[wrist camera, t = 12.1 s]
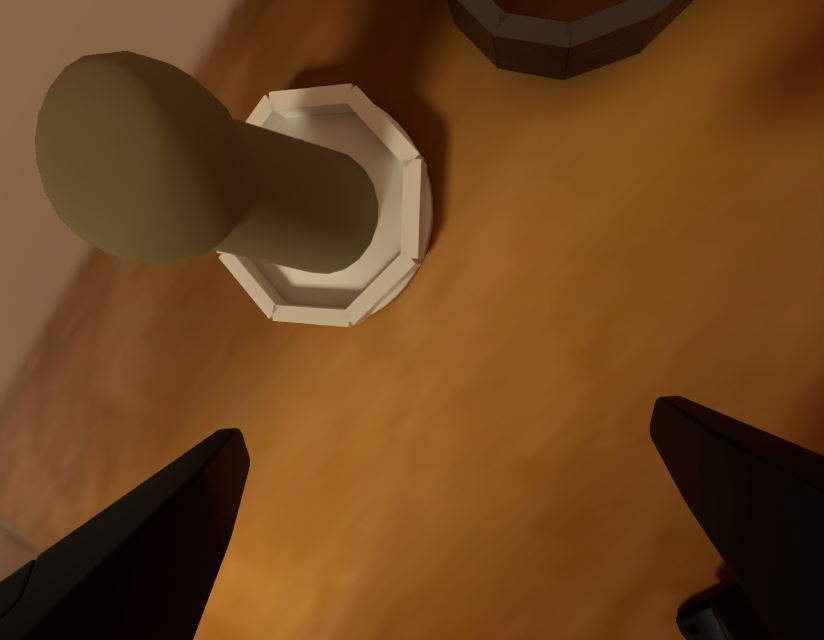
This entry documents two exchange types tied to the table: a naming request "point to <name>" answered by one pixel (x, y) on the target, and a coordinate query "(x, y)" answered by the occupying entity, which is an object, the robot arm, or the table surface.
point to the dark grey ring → (562, 35)
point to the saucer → (397, 209)
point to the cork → (192, 173)
